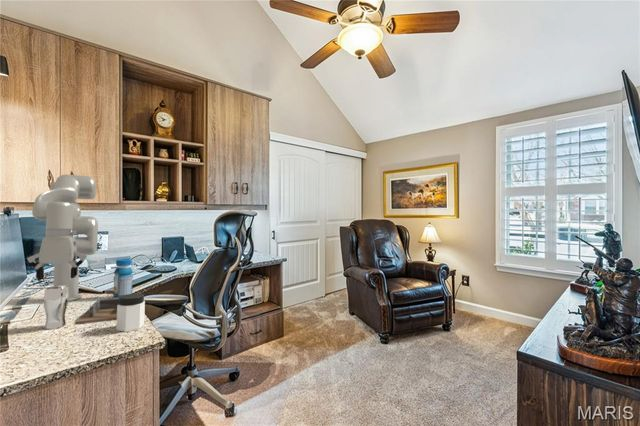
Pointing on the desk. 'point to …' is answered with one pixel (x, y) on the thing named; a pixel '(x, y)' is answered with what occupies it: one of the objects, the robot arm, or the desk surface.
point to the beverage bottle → (123, 278)
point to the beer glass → (55, 306)
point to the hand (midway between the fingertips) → (57, 278)
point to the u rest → (100, 312)
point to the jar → (130, 312)
